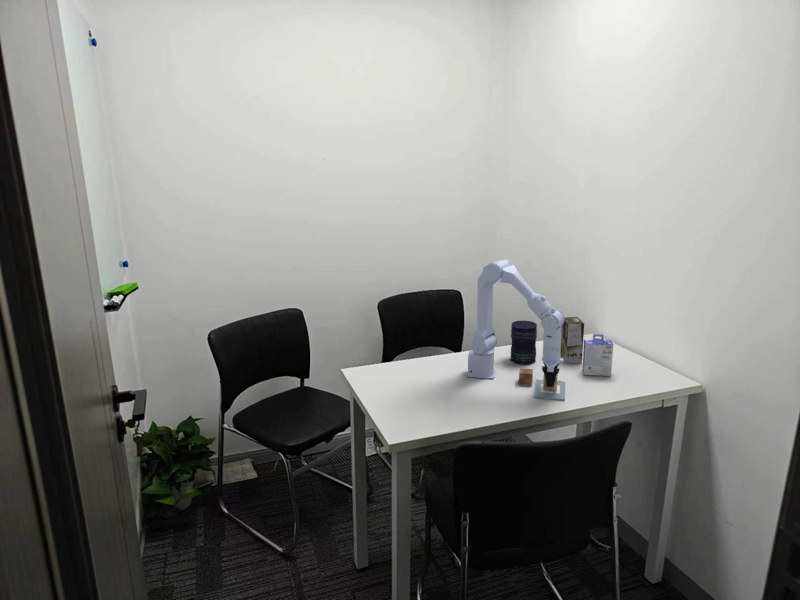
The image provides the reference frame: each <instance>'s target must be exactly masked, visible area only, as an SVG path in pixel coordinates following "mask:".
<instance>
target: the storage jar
mask: <svg viewBox="0 0 800 600" xmlns="http://www.w3.org/2000/svg"><path fill="white" fill-rule="evenodd" d="M537 327H538V325H537V323H536V322H534V321H531V320H516V321H513V322H512V323H511V328H510V338H511V346H510V362H512V363H513V364H516V365H520V366H521V365H522V366H530V365H533V364H535V363H536V361H537V360H536V357H537V347H536V345H537V343H536V341H537V337H538V331H537V330H538V329H537Z"/></svg>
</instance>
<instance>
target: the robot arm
mask: <svg viewBox="0 0 800 600" xmlns="http://www.w3.org/2000/svg"><path fill="white" fill-rule="evenodd" d="M498 281H499V283H502V284H503V283H504V284H511V285H512V287H514V289H515V290H517V292H519V294H521V295H522V297H523V298H524V299H526V301H527V307H528V308H529V309H530V310H531V311H532V312H533V314H535V316H536V317H538V319H539V320H540V325H541V327H542V329H543V338H542V339H543V340H542V341H543V342H542V357H541V361H542V363H543V365H544V366H542V367H541V371H542V373H543V376H544V375H545V379H546V385H547V387H553V386H554V383H555V379H556V376H557V374H559V373H560V368H558V366H559V365H561V364H560V363H564V362H565V361H564V359H563V358H562V357H561V356H560V351H561V325H562V324H563V323H564V318H565V315H564V314H563V312H562V310H559V309H557V308H555V307H554V306H552V305H551V304H550V302H548V300H546V299H547V298H546V296H545V295H542V294H541V293H536V292H534V290H533V289H532V288H531V286H530V285H529V284H528V283H527V282H526V280H525V279H524V278H523V276H521V274H520V272H519V271H518V270H517V267H516V266H515V265H514V264H513V263H512V262H511V261H510V260H509V259H507V258H500V259H499V260H497V261H493V262H490V263H488V264H487V265H485V266H484V267H482V272H481V273H480V275H479V277H478V279H477V300H476V301H477V302H476V303H477V307H476V308H477V311H476V312H477V315H476V316H477V318H476V320H477V323H476V324H477V325H476V328H475V330H474V331H473V335H472V340H471V342H470V348H471V350H469V351H468V355H467V377H468V378H476V379H477V378H478V379H488V380H491V379H492V380H494V378H495V376H496V372H497V370H496V369H495V347H496V346H497V344H498V337H497V335H496V329H495V328H494V326H493V311H494V309H493V304H494V302H493V301H494V297H493V295H494V285H495V284H496V283H498Z"/></svg>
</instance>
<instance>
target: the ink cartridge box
mask: <svg viewBox="0 0 800 600" xmlns="http://www.w3.org/2000/svg"><path fill="white" fill-rule="evenodd" d="M597 337H600V338H597ZM613 352H614V343H613V341H612V340H611V339H605V338H604V334H598V333H597V334H595V333H594V334H592V339H583V353H582V369H581V370H582V374H583V375H585V376H603V377H605V376H606V377H612V368H613V355H614V354H613Z"/></svg>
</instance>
